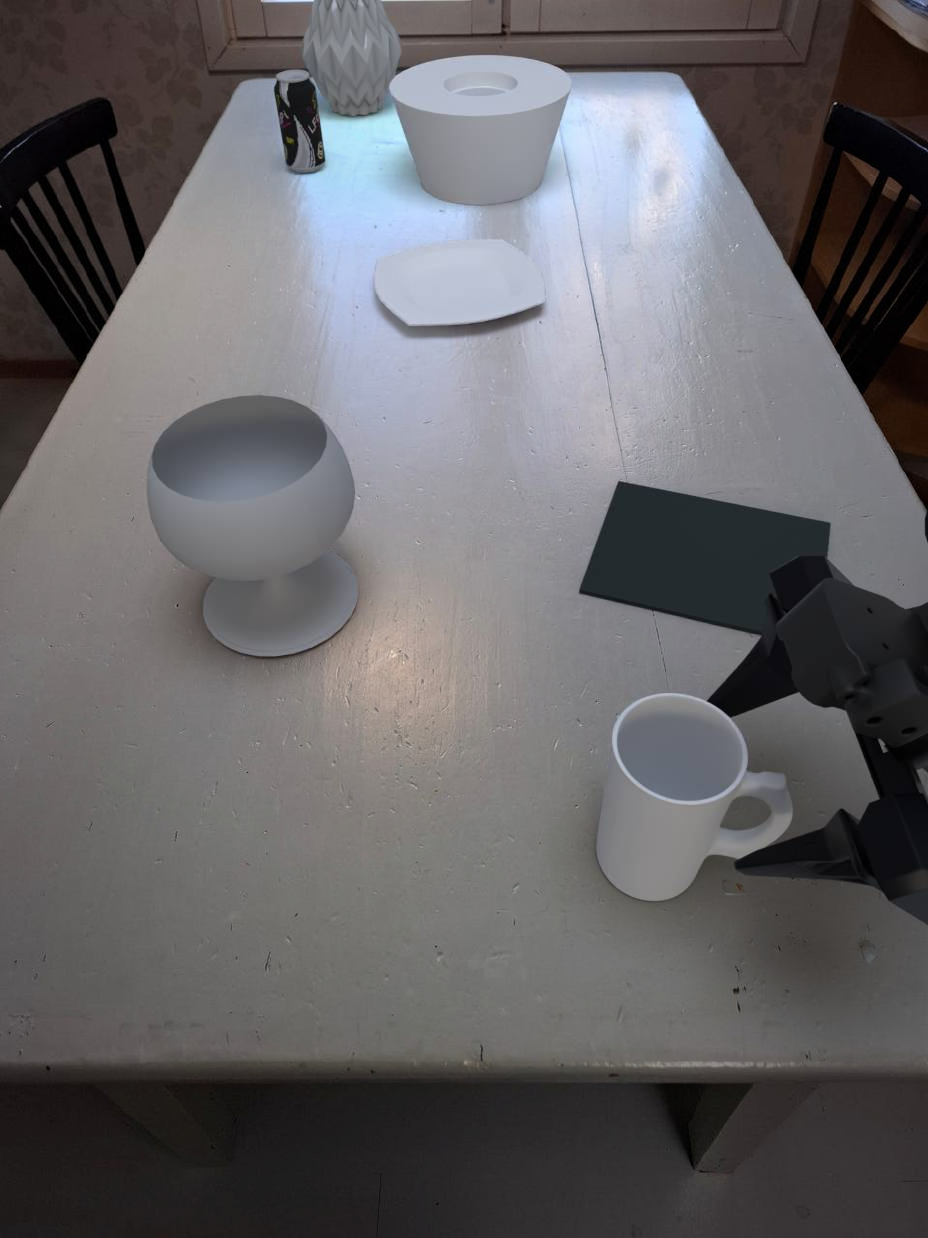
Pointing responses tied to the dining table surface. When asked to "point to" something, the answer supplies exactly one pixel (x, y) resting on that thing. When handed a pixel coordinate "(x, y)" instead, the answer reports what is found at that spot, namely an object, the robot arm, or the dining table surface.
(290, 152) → the beverage can
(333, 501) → the chalice
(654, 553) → the mat
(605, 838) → the mug
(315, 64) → the vase
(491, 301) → the plate
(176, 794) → the dining table surface
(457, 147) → the white tapered cylinder
